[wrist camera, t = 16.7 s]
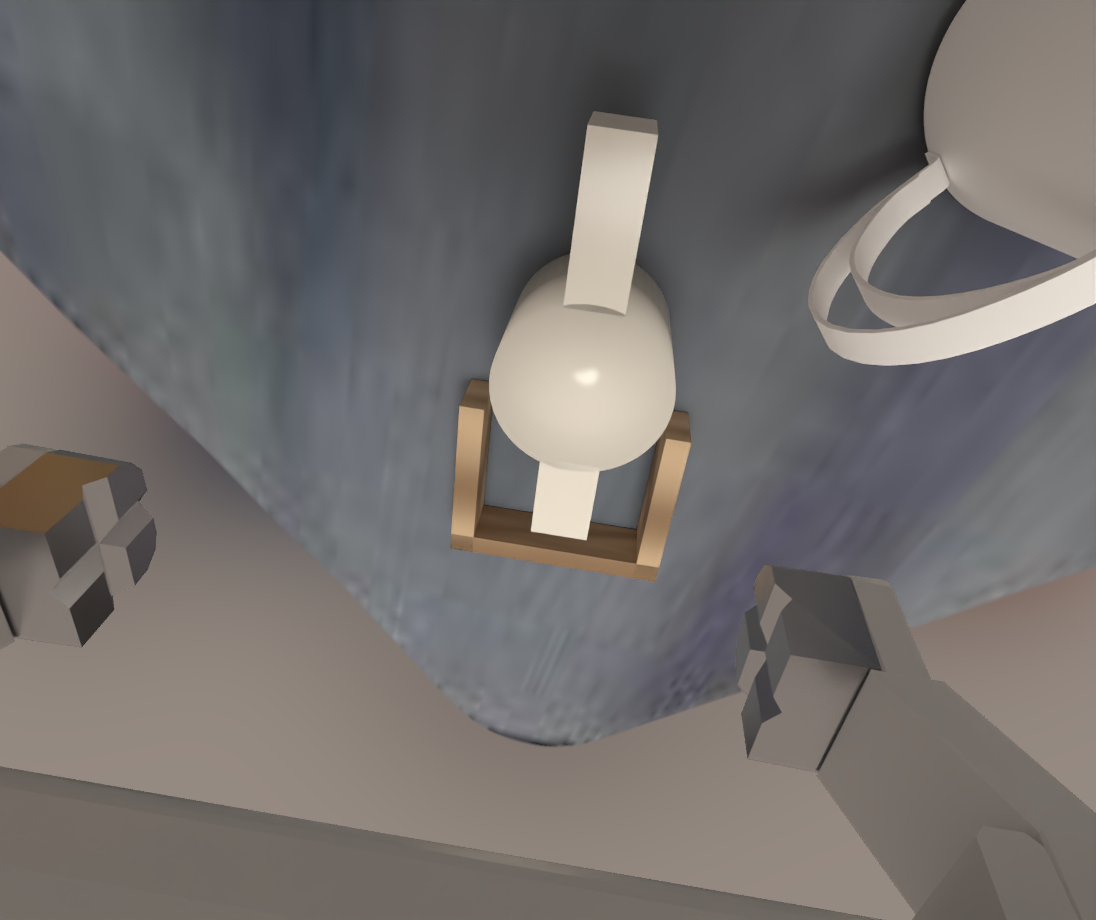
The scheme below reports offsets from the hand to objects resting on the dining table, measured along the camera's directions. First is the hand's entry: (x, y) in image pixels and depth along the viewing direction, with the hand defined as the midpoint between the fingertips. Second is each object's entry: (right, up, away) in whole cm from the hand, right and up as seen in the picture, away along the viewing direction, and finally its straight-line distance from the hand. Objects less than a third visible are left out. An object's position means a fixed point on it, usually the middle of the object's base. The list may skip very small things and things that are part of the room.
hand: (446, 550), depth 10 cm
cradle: (+2, +2, +30) cm, 30 cm away
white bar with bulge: (+4, +9, +26) cm, 28 cm away
